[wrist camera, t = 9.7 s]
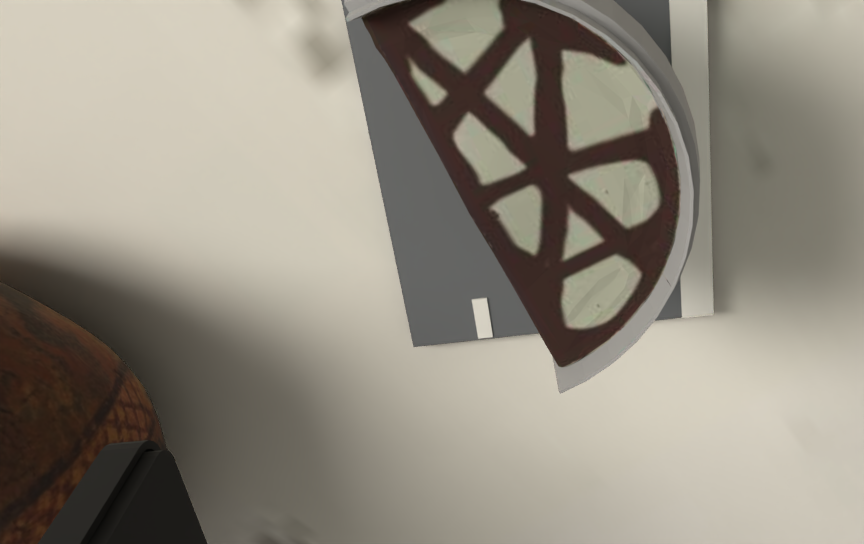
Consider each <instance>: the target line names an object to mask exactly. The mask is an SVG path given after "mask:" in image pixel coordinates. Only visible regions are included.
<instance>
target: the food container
mask: <svg viewBox="0 0 864 544" xmlns="http://www.w3.org/2000/svg"><path fill="white" fill-rule="evenodd" d="M344 5H345V6H346V8H347V10H348V11H349V13H348V15H347V17H346V18H345V19H346V21H347V22H349V21H352V20H355V19H358V18H361V17H362V20H363V23H364V25H365V27H366V29H367V30H368V32H369V34H370V35H371V38H372V40H373V43H374V45H375V47H376V49H377V50H378V51H379V53H380V54H381V55H382V56H383V58H384V59H385V61H386V62H387V64H388V66H389V67H390V69H391V71H392V72H393V74H394V76H395V78H396V79H397V81H398V83H399V85H400V87H401V88H402V90H403V92H404V94H405V96H406V97H407V99H408V101H409V103H410V105H411V107H412V108H413V110H414V112H415V114H416V116H417V117H418V119H419V121H420V123H421V125H422V126H423V128H424V130H425V132H426V134H427V135H428V137H429V139H430V141H431V143H432V145H433V146H434V148H435V150H436V152H437V154H438V155H439V157H440V159H441V161H442V163H443V165H444V167H445V169H446V171H447V172H448V174H449V176H450V178H451V180H452V182H453V184H454V186H455V188H456V189H457V191H458V193H459V195H460V197H461V199H462V201H463V203H464V205H465V207H466V208H467V210H468V212H469V214H470V216H471V217H472V219H473V221H474V222H475V224H476V226H477V227H478V229H479V231H480V232H481V234H482V235H483V237H484V239H485V240H486V242H487V244H488V245H489V247H490V248H491V250H492V252H493V253H494V255H495V257H496V259H497V260H498V262H499V264H500V265H501V267H502V269H503V271H504V272H505V274H506V276H507V277H508V279H509V281H510V283H511V284H512V286H513V288H514V290H515V291H516V293H517V295H518V297H519V298H520V300H521V302H522V304H523V305H524V307H525V309H526V311H527V312H528V314H529V316H530V318H531V320H532V321H533V323H534V325H535V327H536V328H537V330H538V332H539V334H540V335H541V337H542V339H543V341H544V342H545V344H546V346H547V347H548V349H549V351H550V353H551V354H552V356H553V361H554V367H555V372H556V378H557V383H558V389H559V392H560V394H561V393H563V392H565V391H567V390H569V389H571V388H573V387H575V386H577V385H579V384H581V383H583V382H585V381H587V380H589V379H590V378H592V377H593V376H595V375H596V374H598V373H599V372H601V371H602V370H604V369H605V368H607V367H608V366H610V365H611V364H613V363H614V362H615V361H616V360H617V359H618V358H619V357H621V356H622V355H623V354H624V353H625V352H626V351H627V350H628V349H629V348H631V347H632V346H633V345H634V344H635V343H636V342H637V341H638V340H639V339H640V337H641V336H642V335H643V334H644V333H645V331H646V330H647V329H648V328H649V326H650V325H651V324H652V323H653V322H654V320H655V319H656V318H657V317H658V315H659V313H660V312H661V310H662V308H663V307H664V305H665V303H666V302H667V300H668V298H669V296H670V295H671V293H672V291H673V290H674V288H675V286H676V285H677V283H678V281H679V279H680V277H681V274H682V272H683V269H684V267H685V264H686V262H687V259H688V256H689V254H690V251H691V249H692V244H693V240H694V235H695V230H696V226H697V221H698V216H699V195H700V158H699V151H698V144H697V137H696V130H695V123H694V120H693V117H692V114H691V111H690V108H689V105H688V102H687V98H686V95H685V92H684V89H683V87H682V85H681V83H680V82H679V80H678V78H677V76H676V74H675V72H674V70H673V68H672V67H671V65H670V63H669V61H668V59H667V57H666V55H665V54H664V53H663V52H662V50H661V49H660V48H659V47H658V45H657V44H656V43H655V42H654V40H653V39H652V38H651V36H650V35H649V34H648V33H647V31H646V30H645V29H644V28H643V26H642V25H641V24H640V23H638V22H637V21H636V20H635V19H634V18H633V17H632V16H631V15H630V14H628V13H627V12H626V11H625V10H624V9H623V8H622V7H621V6H619V5H618V4H617V3H616V2H615V1H614V0H344Z"/></svg>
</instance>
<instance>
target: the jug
mask: <svg viewBox="0 0 864 544" xmlns="http://www.w3.org/2000/svg"><path fill="white" fill-rule="evenodd" d="M143 440H151V441H154V442H156V443H157V444H158V445H159V447H160V449H161V450H167V447H166V444H165V440H164V437H163V433H162V430H161V427H160V424H159V421H158V417H157V415H156V412H155V410H154V407H153V405H152V402H151V400H150V398H149V396H148V394H147V392H146V390H145V388H144V387H143V385H142V384H141V382H140V381H139V380H138V379H137V377H136V376H135V375H134V373H133V372H132V371H131V369H130V368H129V367H128V366H127V365H126V364H125V363H124V362H123V361H122V360H121V359H120V358H119V357H118V356H117V355H116V354H115V352H114V351H113V350H112V349H110V348H109V347H108V346H107V345H106V344H105V343H103V342H102V341H101V340H99V339H98V338H97V337H95V336H94V335H93V334H91V333H90V332H88V331H87V330H85V329H84V328H82V327H80V326H79V325H77V324H76V323H74V322H73V321H71V320H70V319H68V318H66V317H64V316H63V315H61V314H59V313H57V312H56V311H54V310H52V309H50V308H49V307H47V306H45V305H43V304H42V303H40V302H38V301H36V300H35V299H33V298H31V297H29V296H27V295H26V294H24V293H22V292H20V291H18V290H16V289H14V288H12V287H10V286H8V285H6V284H4V283H2V282H0V544H38V542H39V541H40V539H41V538H42V536H43V535H44V533H45V532H46V531H47V529H48V528H49V526H50V525H51V523H52V522H53V520H54V519H55V517H56V516H57V514H58V513H59V511H60V510H61V508H62V507H63V505H64V504H65V503H66V501H67V500H68V498H69V497H70V495H71V494H72V492H73V491H74V489H75V488H76V486H77V485H78V483H79V482H80V480H81V479H82V477H83V476H84V474H85V473H86V472H87V470H88V469H89V467H90V466H91V464H92V463H93V461H94V460H95V458H96V457H97V455H98V454H99V452H100V451H101V450H102V449H103V448H104V447H105V446H106V445H108V444H111V443H121V442H132V441H143Z"/></svg>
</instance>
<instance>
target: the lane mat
mask: <svg viewBox="0 0 864 544" xmlns="http://www.w3.org/2000/svg"><path fill="white" fill-rule="evenodd" d="M341 1H342V5H343V10H344V15H345V18H346V17H347V15H348V13H349V11H348V10H347V8H346V6H345V5H344V0H341ZM614 1H615V2H616V3H617V4H618V5H619V6H621V7H622V8H623V9H624V10H625V11H626V12H627V13H628V14H630V15H631V16H632V17H633V18H634V19H635V20H636V21H637V22H638V23H640V24H641V25H642V26H643V28H644V29H645V30H646V31H647V33H648V34H649V35H650V36H651V38H652V39H653V40H654V42H655V43H656V44H657V45H658V47H659V48H660V49H661V50H662V52H663V53H664V54H665V55H666V57H667V59H668V61H669V63H670V65H671V67H672V68H673V70H674V72H675V74H676V76H677V78H678V80H679V82H680V83H681V85H682V87H683V89H684V92H685V95H686V98H687V102H688V105H689V108H690V111H691V114H692V117H693V120H694V123H695V130H696V137H697V144H698V151H699V158H700V195H699V216H698V221H697V226H696V230H695V235H694V240H693V244H692V249H691V251H690V254H689V256H688V259H687V262H686V264H685V267H684V269H683V272H682V274H681V277H680V279H679V281H678V283H677V285H676V286H675V288H674V290H673V291H672V293H671V295H670V296H669V298H668V300H667V302H666V303H665V305H664V307H663V308H662V310H661V312H660V313H659V315H658V317H657V318H656V319H655V320H663V319H672V318H681V317H682V318H691V317H700V316H709V315H714V307H713V259H712V211H711V163H710V115H709V67H708V19H707V0H614ZM345 20H346V19H345ZM346 25H347V29H348V34H349V39H350V44H351V49H352V53H353V58H354V63H355V68H356V73H357V77H358V82H359V87H360V92H361V97H362V101H363V106H364V111H365V116H366V121H367V125H368V130H369V135H370V140H371V145H372V149H373V154H374V159H375V164H376V169H377V173H378V178H379V183H380V188H381V193H382V197H383V202H384V207H385V212H386V217H387V221H388V226H389V231H390V236H391V241H392V245H393V250H394V255H395V260H396V264H397V269H398V274H399V279H400V284H401V288H402V293H403V298H404V303H405V308H406V312H407V317H408V322H409V327H410V332H411V336H412V341H413V346H414V347H418V346H427V345H436V344H445V343H454V342H464V341H473V340H482V339H491V338H500V337H509V336H518V335H527V334H536V333H539V332H538V330H537V328H536V327H535V325H534V323H533V321H532V320H531V318H530V316H529V314H528V312H527V311H526V309H525V307H524V305H523V304H522V302H521V300H520V298H519V297H518V295H517V293H516V291H515V290H514V288H513V286H512V284H511V283H510V281H509V279H508V277H507V276H506V274H505V272H504V271H503V269H502V267H501V265H500V264H499V262H498V260H497V259H496V257H495V255H494V253H493V252H492V250H491V248H490V247H489V245H488V244H487V242H486V240H485V239H484V237H483V235H482V234H481V232H480V231H479V229H478V227H477V226H476V224H475V222H474V221H473V219H472V217H471V216H470V214H469V212H468V210H467V208H466V207H465V205H464V203H463V201H462V199H461V197H460V195H459V193H458V191H457V189H456V188H455V186H454V184H453V182H452V180H451V178H450V176H449V174H448V172H447V171H446V169H445V167H444V165H443V163H442V161H441V159H440V157H439V155H438V154H437V152H436V150H435V148H434V146H433V145H432V143H431V141H430V139H429V137H428V135H427V134H426V132H425V130H424V128H423V126H422V125H421V123H420V121H419V119H418V117H417V116H416V114H415V112H414V110H413V108H412V107H411V105H410V103H409V101H408V99H407V97H406V96H405V94H404V92H403V90H402V88H401V87H400V85H399V83H398V81H397V79H396V78H395V76H394V74H393V72H392V71H391V69H390V67H389V66H388V64H387V62H386V61H385V59H384V58H383V56H382V55H381V54H380V53H379V51H378V50H377V49H376V47H375V45H374V43H373V40H372V38H371V35H370V34H369V32H368V30H367V29H366V27H365V25H364V23H363V20H362V17H361V18H358V19H355V20H352V21H349V22H347V21H346Z"/></svg>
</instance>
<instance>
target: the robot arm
mask: <svg viewBox="0 0 864 544" xmlns="http://www.w3.org/2000/svg"><path fill="white" fill-rule="evenodd" d="M38 544H207V542H206V539H205V537H204V534H203V532H202V529H201V527H200V524H199V521H198V519H197V516H196V514H195V511H194V509H193V506H192V503H191V501H190V498H189V496H188V493H187V491H186V488H185V485H184V483H183V480H182V478H181V475H180V473H179V470H178V467H177V465H176V462H175V460H174V458H173V456H172V454H171V453H170V452H169V451H167V450H161V449H160V447H159V445H158V444H157V443H156V442H154V441H151V440H143V441H132V442H121V443H111V444H108V445H106V446H105V447H104V448H103V449H102V450H101V451H100V452H99V454H98V455H97V457H96V458H95V460H94V461H93V463H92V464H91V466H90V467H89V469H88V470H87V472H86V473H85V474H84V476H83V477H82V479H81V480H80V482H79V483H78V485H77V486H76V488H75V489H74V491H73V492H72V494H71V495H70V497H69V498H68V500H67V501H66V503H65V504H64V505H63V507H62V508H61V510H60V511H59V513H58V514H57V516H56V517H55V519H54V520H53V522H52V523H51V525H50V526H49V528H48V529H47V531H46V532H45V533H44V535H43V536H42V538H41V539H40V541H39V542H38Z"/></svg>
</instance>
